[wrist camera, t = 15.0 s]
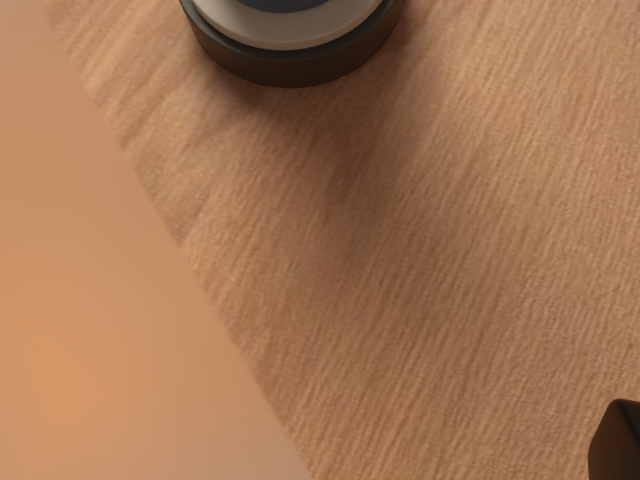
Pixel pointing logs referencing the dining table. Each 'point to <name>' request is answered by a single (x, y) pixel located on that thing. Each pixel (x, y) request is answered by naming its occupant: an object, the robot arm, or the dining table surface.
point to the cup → (282, 5)
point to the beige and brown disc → (292, 38)
